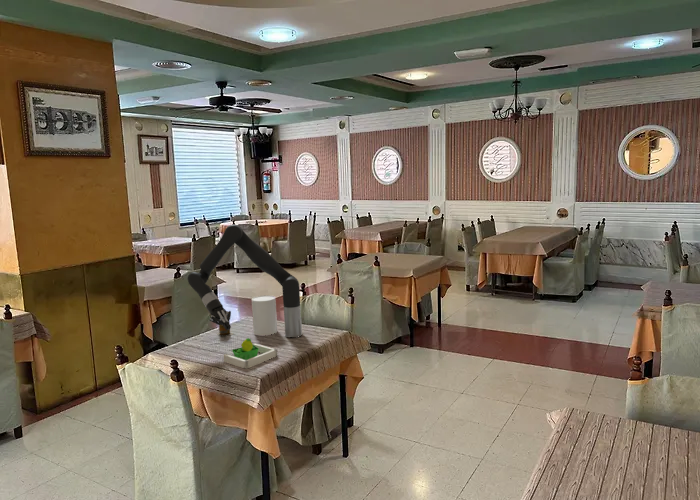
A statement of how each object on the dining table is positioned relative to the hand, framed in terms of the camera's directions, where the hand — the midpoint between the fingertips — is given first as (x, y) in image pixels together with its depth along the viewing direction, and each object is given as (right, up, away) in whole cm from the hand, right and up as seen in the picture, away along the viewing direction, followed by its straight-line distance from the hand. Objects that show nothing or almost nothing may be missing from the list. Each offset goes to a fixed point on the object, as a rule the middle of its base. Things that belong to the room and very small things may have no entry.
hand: (229, 329), depth 257 cm
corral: (+13, -13, -10) cm, 21 cm away
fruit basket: (+11, -14, -10) cm, 20 cm away
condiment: (-10, -8, +32) cm, 34 cm away
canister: (+13, -7, +33) cm, 36 cm away
